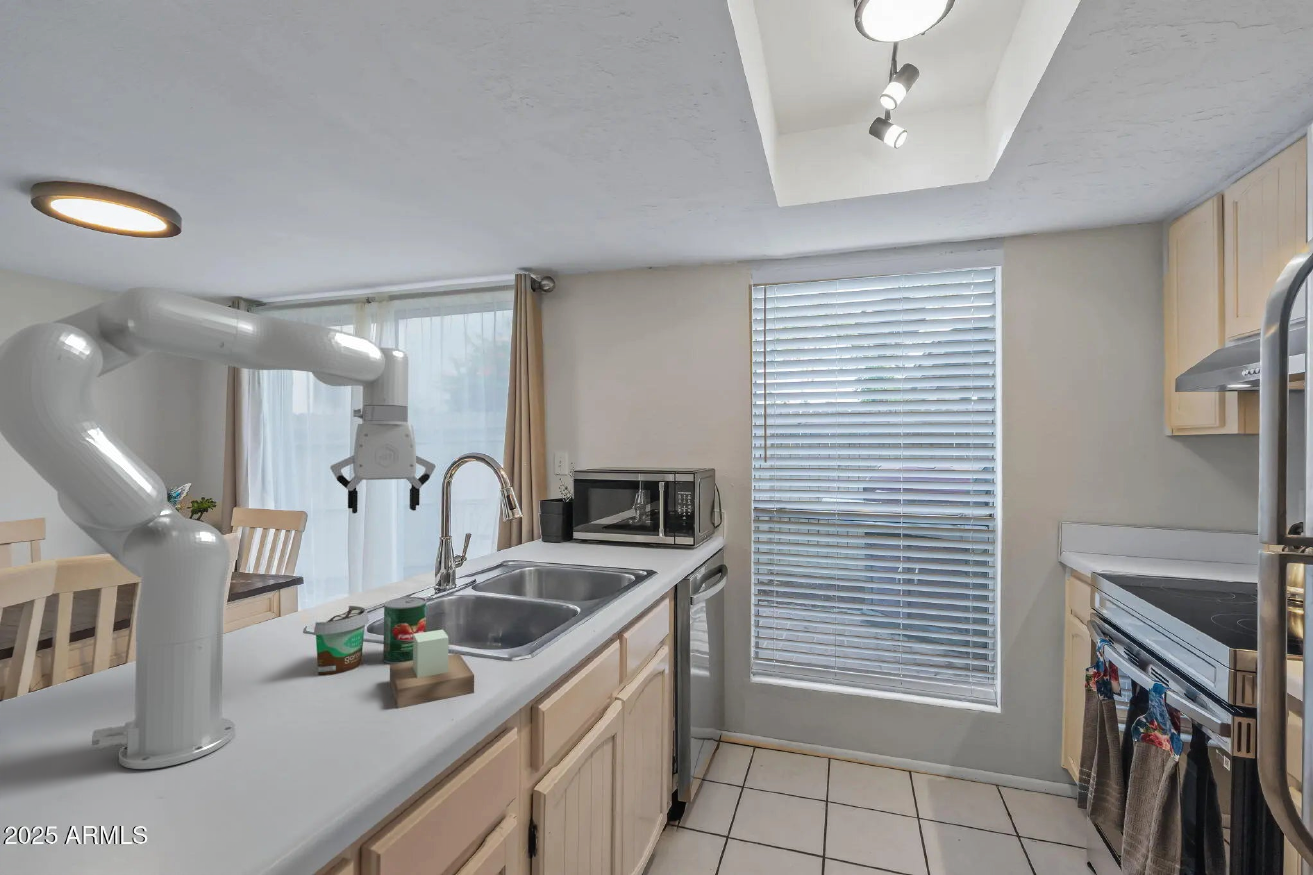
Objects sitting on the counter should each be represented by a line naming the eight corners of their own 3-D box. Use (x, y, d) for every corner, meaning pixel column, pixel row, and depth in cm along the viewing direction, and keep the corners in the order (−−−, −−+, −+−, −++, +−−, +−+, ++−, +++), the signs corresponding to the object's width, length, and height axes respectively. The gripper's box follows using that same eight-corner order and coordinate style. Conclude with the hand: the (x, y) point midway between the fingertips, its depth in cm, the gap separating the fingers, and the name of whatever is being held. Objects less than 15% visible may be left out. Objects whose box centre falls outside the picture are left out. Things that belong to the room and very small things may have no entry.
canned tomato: (406, 666, 113) (407, 608, 113) (373, 661, 115) (374, 605, 115) (434, 652, 120) (435, 598, 120) (403, 648, 123) (403, 595, 123)
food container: (346, 679, 106) (347, 623, 107) (313, 678, 107) (313, 623, 107) (380, 655, 119) (380, 605, 119) (349, 654, 119) (350, 604, 119)
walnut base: (398, 707, 95) (398, 689, 95) (389, 681, 105) (389, 664, 105) (474, 692, 101) (474, 674, 101) (459, 669, 111) (459, 653, 111)
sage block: (417, 677, 100) (417, 642, 100) (413, 668, 104) (413, 633, 104) (448, 672, 102) (448, 637, 102) (442, 662, 107) (443, 629, 107)
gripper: (331, 414, 100) (330, 516, 99) (439, 417, 108) (438, 510, 108) (330, 416, 106) (329, 511, 106) (432, 418, 115) (431, 507, 115)
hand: (384, 511), depth 107 cm, fingers open, 9 cm apart
